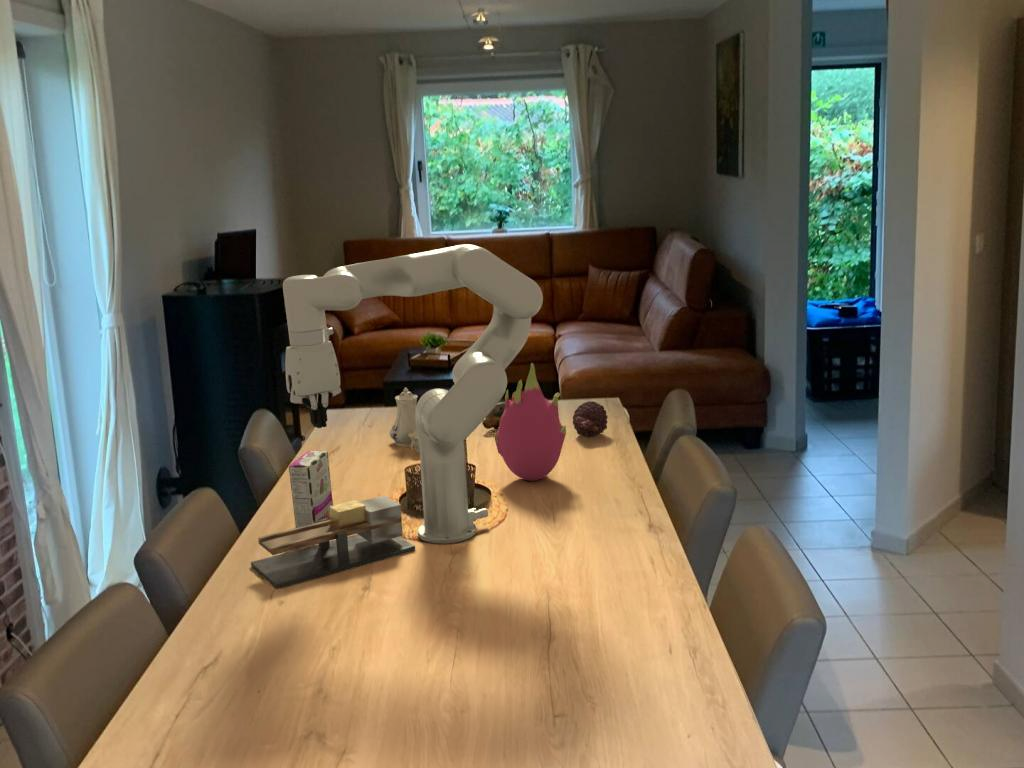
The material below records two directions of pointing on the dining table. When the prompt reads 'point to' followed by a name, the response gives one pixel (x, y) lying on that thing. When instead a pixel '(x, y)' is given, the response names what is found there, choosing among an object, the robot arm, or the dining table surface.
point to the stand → (327, 558)
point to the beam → (378, 528)
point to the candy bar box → (311, 488)
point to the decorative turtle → (494, 417)
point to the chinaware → (406, 421)
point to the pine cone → (590, 419)
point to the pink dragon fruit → (530, 431)
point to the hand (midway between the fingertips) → (319, 426)
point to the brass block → (347, 514)
